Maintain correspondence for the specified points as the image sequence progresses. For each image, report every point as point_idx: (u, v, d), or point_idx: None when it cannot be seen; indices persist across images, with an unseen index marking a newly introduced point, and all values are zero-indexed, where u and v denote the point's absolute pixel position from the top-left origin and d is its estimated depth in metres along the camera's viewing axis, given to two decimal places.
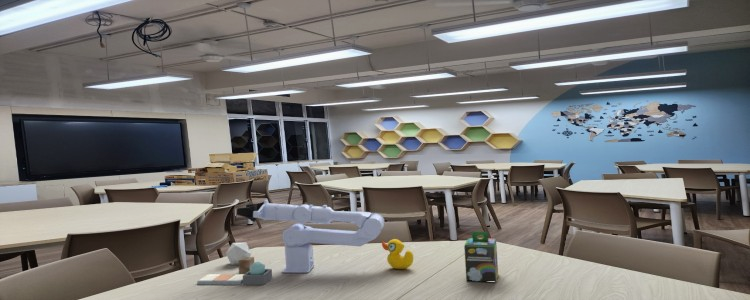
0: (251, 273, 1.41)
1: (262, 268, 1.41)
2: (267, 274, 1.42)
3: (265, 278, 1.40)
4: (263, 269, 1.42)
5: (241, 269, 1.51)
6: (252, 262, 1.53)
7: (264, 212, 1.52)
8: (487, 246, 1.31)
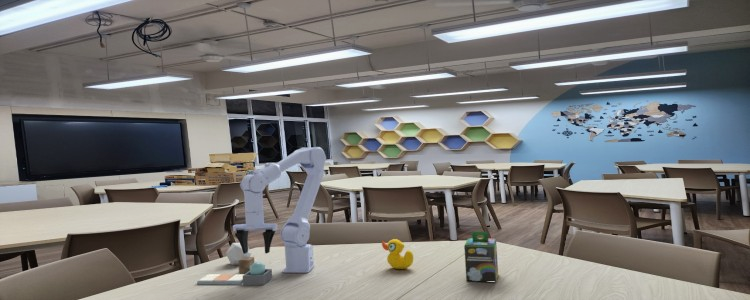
0: (251, 273, 1.41)
1: (262, 268, 1.41)
2: (267, 274, 1.42)
3: (265, 278, 1.40)
4: (263, 269, 1.42)
5: (241, 269, 1.51)
6: (252, 262, 1.53)
7: (263, 223, 1.42)
8: (487, 246, 1.31)
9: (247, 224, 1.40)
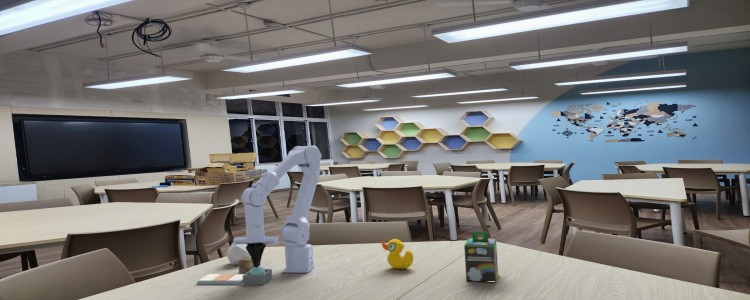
0: None
1: (262, 272, 1.41)
2: (267, 274, 1.42)
3: (265, 278, 1.40)
4: (263, 273, 1.42)
5: (241, 269, 1.51)
6: (252, 262, 1.53)
7: (263, 236, 1.42)
8: (487, 246, 1.31)
9: (248, 238, 1.40)
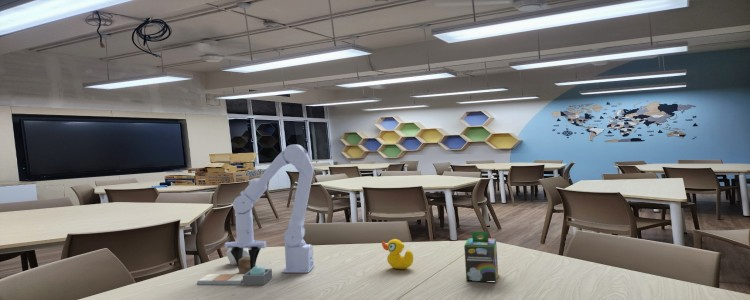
0: None
1: (262, 272, 1.41)
2: (267, 274, 1.42)
3: (265, 278, 1.40)
4: (263, 273, 1.42)
5: (241, 269, 1.51)
6: None
7: (253, 241, 1.52)
8: (487, 246, 1.31)
9: (238, 242, 1.51)
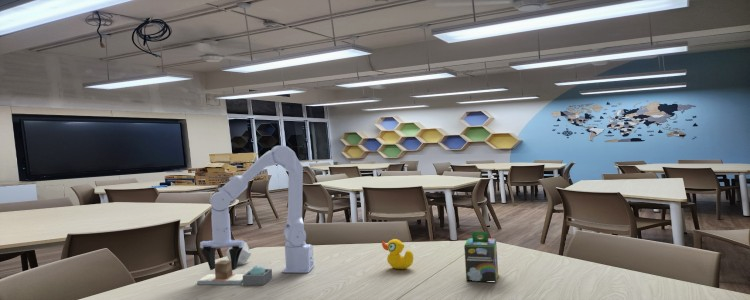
0: None
1: (262, 272, 1.41)
2: (267, 274, 1.42)
3: (265, 278, 1.40)
4: (263, 273, 1.42)
5: (218, 274, 1.43)
6: (229, 266, 1.45)
7: (229, 240, 1.44)
8: (487, 246, 1.31)
9: (214, 241, 1.42)
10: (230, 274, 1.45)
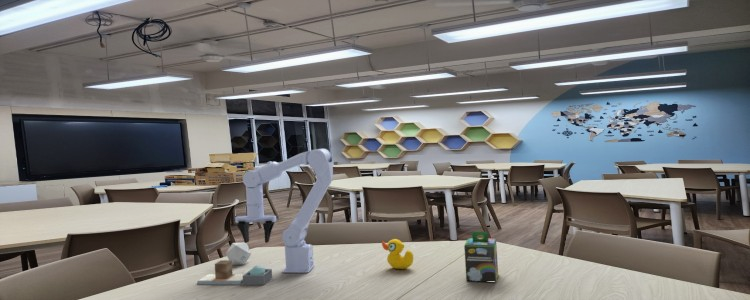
0: None
1: (262, 272, 1.41)
2: (267, 274, 1.42)
3: (265, 278, 1.40)
4: (263, 273, 1.42)
5: (218, 274, 1.43)
6: (229, 266, 1.45)
7: (263, 215, 1.55)
8: (487, 246, 1.31)
9: (248, 216, 1.53)
10: (230, 274, 1.45)
